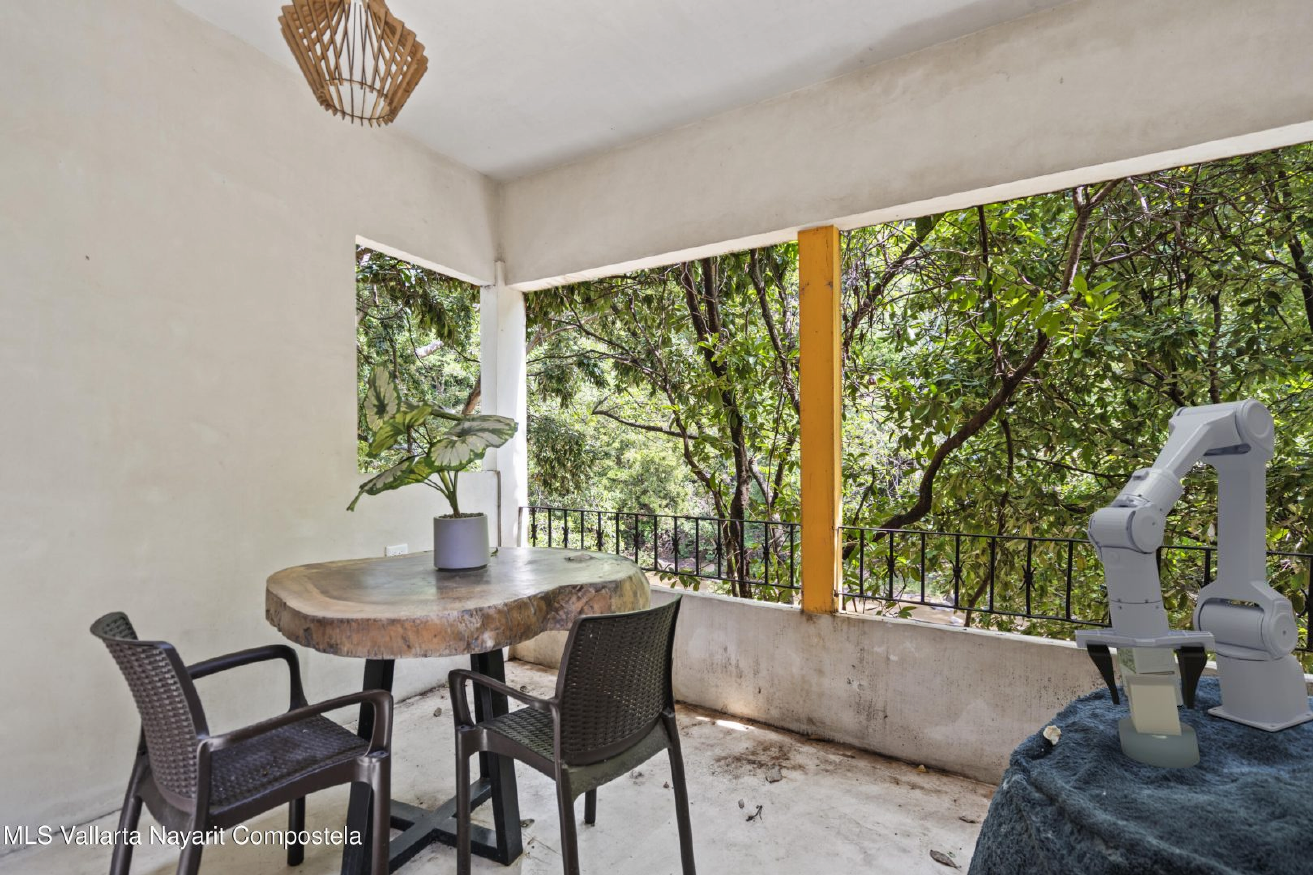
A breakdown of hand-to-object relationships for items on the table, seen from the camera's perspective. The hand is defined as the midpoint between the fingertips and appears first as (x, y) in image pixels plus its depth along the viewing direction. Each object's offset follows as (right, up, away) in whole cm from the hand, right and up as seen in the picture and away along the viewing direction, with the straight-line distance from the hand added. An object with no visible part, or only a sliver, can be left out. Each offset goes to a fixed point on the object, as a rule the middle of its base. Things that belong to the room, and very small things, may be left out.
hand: (1151, 704), depth 84 cm
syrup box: (+12, -6, +15) cm, 20 cm away
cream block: (+1, -3, 0) cm, 3 cm away
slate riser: (+1, -6, 0) cm, 6 cm away
